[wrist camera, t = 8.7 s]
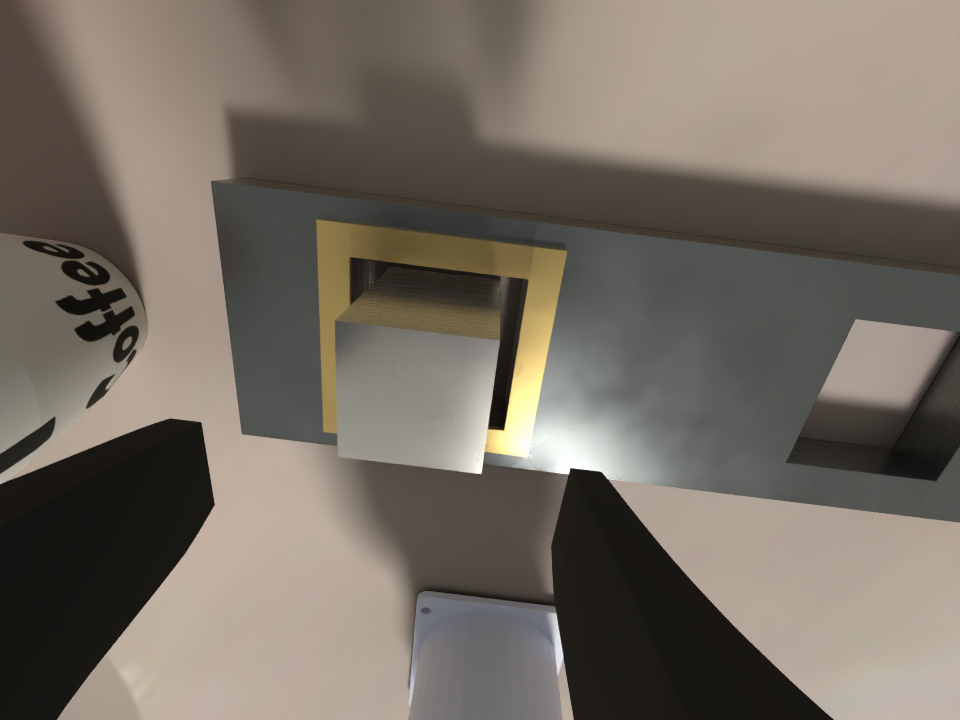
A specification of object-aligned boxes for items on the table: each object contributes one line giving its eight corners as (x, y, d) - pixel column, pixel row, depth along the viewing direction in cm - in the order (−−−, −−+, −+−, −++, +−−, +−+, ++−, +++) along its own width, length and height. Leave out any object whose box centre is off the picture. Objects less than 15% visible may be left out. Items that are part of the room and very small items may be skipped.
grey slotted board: (971, 494, 19) (1026, 533, 17) (267, 407, 19) (239, 437, 17) (1119, 288, 15) (1211, 308, 13) (245, 178, 15) (206, 181, 13)
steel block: (487, 378, 18) (481, 473, 12) (387, 366, 18) (337, 456, 12) (500, 279, 16) (499, 340, 11) (391, 266, 16) (334, 320, 11)
